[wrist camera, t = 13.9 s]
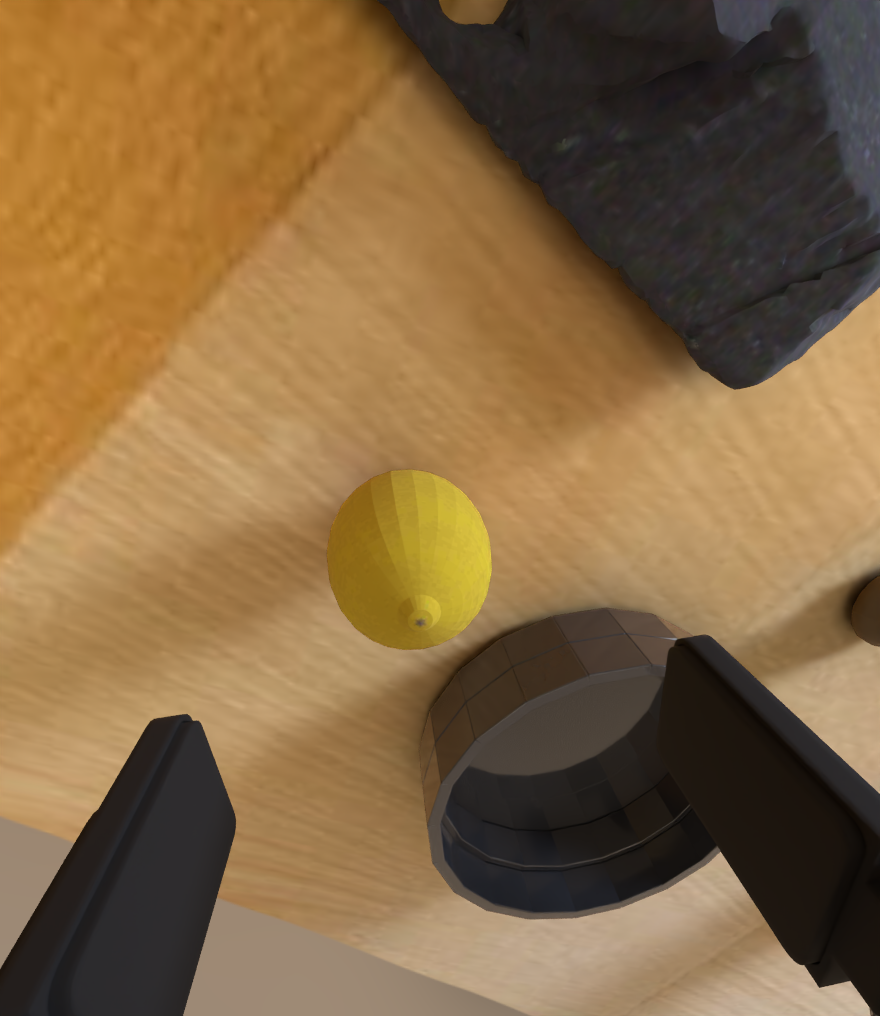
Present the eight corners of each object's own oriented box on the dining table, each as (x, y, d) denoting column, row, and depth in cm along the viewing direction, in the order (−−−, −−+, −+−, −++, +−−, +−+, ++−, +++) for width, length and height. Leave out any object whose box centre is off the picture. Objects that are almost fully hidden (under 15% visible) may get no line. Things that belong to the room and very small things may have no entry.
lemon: (314, 537, 19) (280, 668, 12) (372, 422, 18) (372, 491, 11) (428, 583, 21) (459, 723, 14) (489, 481, 20) (560, 576, 12)
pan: (735, 582, 24) (812, 637, 19) (691, 805, 30) (741, 881, 26) (402, 632, 22) (410, 705, 18) (433, 857, 28) (444, 947, 24)
